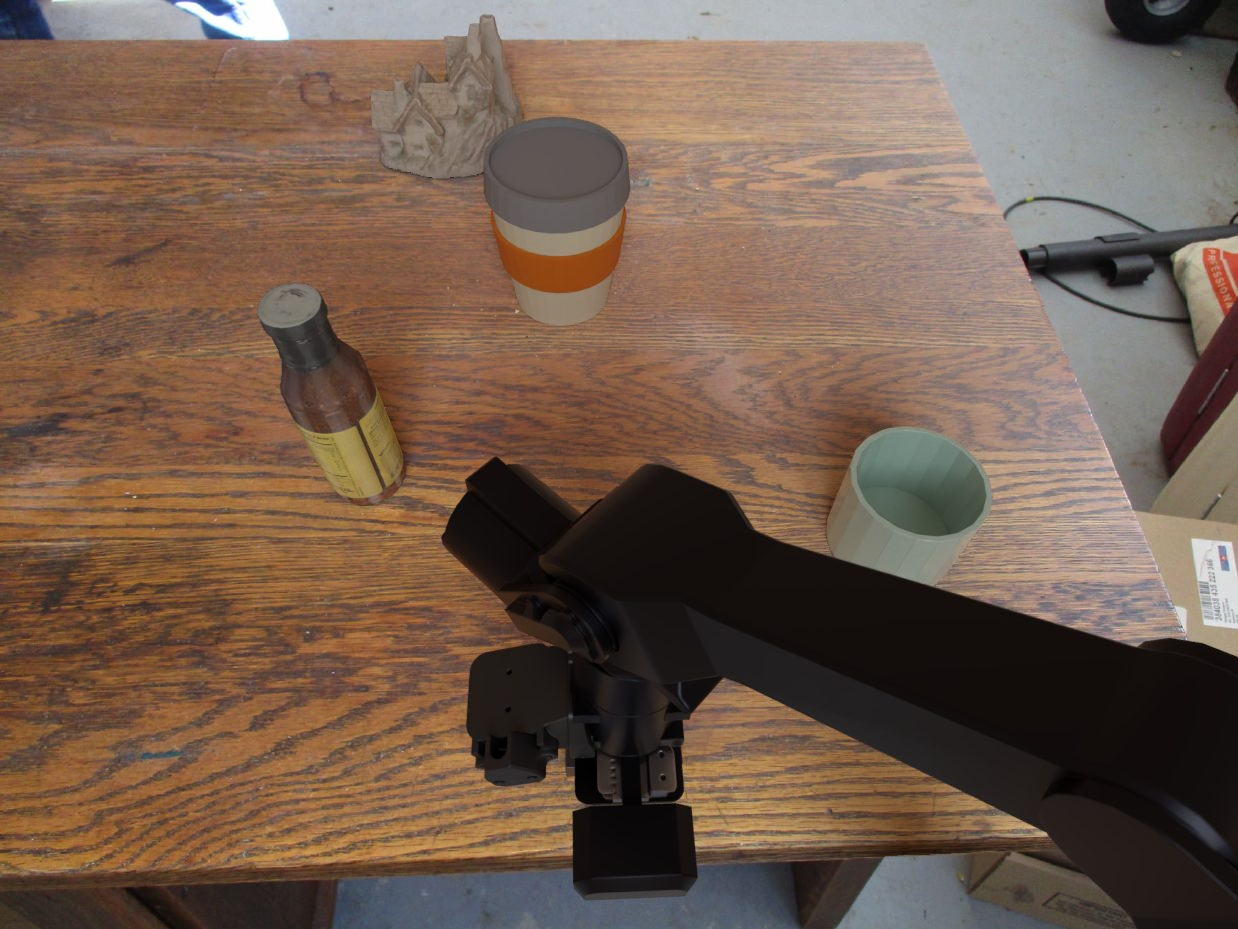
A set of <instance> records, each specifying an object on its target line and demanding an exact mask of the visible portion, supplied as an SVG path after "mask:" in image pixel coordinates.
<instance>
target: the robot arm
mask: <svg viewBox="0 0 1238 929" xmlns="http://www.w3.org/2000/svg"><path fill="white" fill-rule="evenodd" d="M464 483H465V488H466V492H465V493H464V494H463V496H462V498H461V499H460V500H459V502H458V503H457V504H456V506H454V509H453V511H452V513H451V514H450V516H449V518H448V521H447V523H446V526H445V529H444V532H442V535H441V537H440V538H441V544H442V545H443V547H444V548H445V550H446V551H447V552H448V553H450V554H451V556H453V558H455V559H456V560H457V561H458V562H459V563H460V564H461V565H462V566H463V567H465V568H466V569H467V570H468V571H469V572H470V573H471V574H472V575H473V576H474V577H475V578H476V579H478V581H479V582H481V583H482V584H483V585H484V586H485V587H486V588H487V589H489V590H490V592H492V593H493V594H494V595H495V596H496V597H497V598H498V599H499V600H500V601H501V602H502V603H503V604H504V605H505V606H506V607H505V608H504V612H505V613H506V614H507V616H508V617H509V619H510V620H511V622H512V623H513V624H514V626H515V627H516V629H517V630H518V631H519V632H521V633H523V634H526V635H528V636H531V637H532V638H535V639H537V640H540V641H542V642H545V643H547V644H548V645H546V644H544V643H541V642H534V643H533V642H532V643H528V644H522V645H517V646H511V647H505V648H501V649H494V650H489V651H485V652H482V653H481V654H479V655H477V657H476V658H474V660H473V661H472V662H471V665H470V668H469V673H468V674H469V675H468V688H467V689H468V690H467V704H466V718H465V720H466V721H465V729H466V733H467V734H468V737H470V738H471V749H470V756H472V757H474V758H475V759H474V760H475V762H474V768H476V769H478V770H484V771H483V773H484V774H483V778H484V780H486V781H487V782H488V783H490V784H491V785H494V786H496V787H505V788H506V787H513V786H520V785H528V784H535V783H536V784H537V783H541V782H543V781H544V780H545V779H546V778H547V766H548V764H549V762H550V761H552V760H557V759H559V750H565V749H569V748H570V758H571V759H572V758H575V777H574V796H575V798H576V799H577V801H578V802H579V803H581V804H583V805H587V806H585V807H582V808H579V809H575V810H572V811H571V812H572V813H571V814H572V815H571V816H572V821H571V822H572V823H571V824H572V885H573V889H574V891H575V893H577V894H578V895H579V896H580V897H581V898H582V899H583V900H584V901H585V902H586V901H587V902H589V901H608V900H609V901H611V900H612V901H613V900H630V899H631V900H632V899H633V900H634V899H635V900H636V899H654V898H655V899H656V898H658V899H659V898H675V897H676V898H678V897H686V895H687V894H688V893H689V892H690V891H691V889H692V888H693V886H694V885H696V884H695V883H696V882H697V880H698V878H699V876H698V875H699V873H698V862H697V852H696V841H695V828H694V818H693V816H694V815H693V807H692V806H691V805H687V804H682V803H677V802H678V801H679V800H680V799H681V798H682V797H683V795H684V792H685V782H684V771H683V770H684V769H683V764H682V759H683V755H682V756H681V747H682V746H683V745H684V742H685V732H684V721H690V719H691V716H692V714H693V713H694V712H695V711H696V710H697V709H698V707H699V706H700V705H701V704H702V703H703V702H704V701H705V699H706V698H707V697H708V696H709V695H710V694H711V693H712V692H713V691H714V689H716V688H717V686H718V685H719V684H720V683H721V682H722V681H723V679H727V680H729V681H732V682H735V683H738V684H740V685H742V686H745V687H747V688H749V689H751V690H753V691H755V692H758V693H759V694H761V695H763V696H765V697H767V698H769V699H771V700H773V701H775V702H777V703H779V704H781V705H783V706H786V707H787V708H790V709H792V710H794V711H796V712H798V713H800V714H802V715H804V716H806V717H808V718H811V719H812V720H815V721H817V722H818V723H821V724H823V725H825V726H827V727H829V728H831V729H833V730H834V731H836V732H839V733H841V734H842V735H846V736H847V737H850V738H851V739H854V740H855V741H857V742H859V743H861V744H863V745H866V746H868V747H870V748H872V749H873V750H876V751H877V752H880V753H882V754H884V755H886V756H888V757H890V758H893V759H894V760H896V761H898V762H901V763H902V764H905V765H907V766H909V767H911V768H913V769H915V770H916V771H919V772H921V773H922V774H925V775H927V776H929V777H931V778H934V779H935V780H938V781H939V782H941V783H944V784H945V785H947V786H950V787H952V788H954V789H956V790H958V791H960V792H962V793H964V794H966V795H968V796H969V797H972V798H974V799H976V800H979V801H980V802H983V803H985V804H987V805H989V806H991V807H993V808H994V809H996V810H999V811H1001V812H1003V813H1005V814H1007V815H1009V816H1011V817H1013V818H1015V819H1016V820H1017V819H1018V820H1019V821H1021V822H1023V823H1025V824H1028V825H1030V826H1032V827H1034V828H1035V829H1038V830H1040V831H1041V832H1044V833H1046V834H1047V836H1048V837H1049V838H1050V840H1051V841H1052V842H1053V843H1054V844H1055V845H1056V846H1057V848H1058V849H1059V850H1060V851H1061V852H1062V853H1063V854H1064V855H1065V856H1066V858H1067V859H1068V860H1069V861H1071V862H1072V863H1073V864H1074V866H1076V868H1078V869H1079V870H1080V871H1081V872H1082V873H1083V874H1084V875H1085V876H1086V877H1088V879H1090V880H1091V881H1092V882H1093V883H1094V884H1095V885H1096V886H1097V887H1098V888H1099V889H1100V890H1101V891H1102V892H1104V893H1105V895H1106V896H1108V898H1110V899H1111V900H1112V901H1113V902H1114V903H1115V904H1116V905H1118V906H1119V907H1120V908H1121V909H1122V910H1123V911H1124V912H1125V913H1126V914H1127V915H1128V916H1129V918H1130V919H1131V921H1132V923H1133V925H1134V927H1135V929H1238V656H1237V655H1235V654H1232V653H1230V652H1227V651H1224V650H1222V649H1219V648H1217V647H1214V646H1212V645H1209V644H1206V643H1204V642H1199V641H1192V640H1186V639H1180V638H1175V637H1165V638H1157V639H1150V640H1144V641H1143V642H1141V643H1140V644H1138V645H1137V646H1136V645H1133V644H1129V643H1125V642H1121V641H1119V640H1115V639H1113V638H1108V637H1105V636H1101V635H1098V634H1095V633H1093V632H1092V633H1091V632H1088V631H1085V630H1081V629H1078V628H1074V627H1072V626H1067V625H1066V624H1062V623H1058V622H1054V621H1051V620H1048V619H1044V618H1040V617H1037V616H1034V615H1031V614H1027V613H1024V612H1020V611H1017V610H1014V609H1011V608H1007V607H1004V606H1000V605H997V604H994V603H991V602H987V601H983V600H980V599H977V598H974V597H970V596H967V595H962V594H960V593H957V592H953V591H951V590H946V589H944V588H940V587H936V586H930V585H926V584H923V583H920V582H916V581H913V580H910V579H906V578H903V577H899V576H896V575H893V574H889V573H886V572H883V571H879V570H876V569H873V568H869V567H866V566H862V565H859V564H856V563H852V562H849V561H846V560H842V559H839V558H835V557H834V556H833V555H828V554H825V553H822V552H818V551H815V550H812V549H808V548H804V547H801V546H798V545H795V544H791V543H788V542H785V541H782V540H779V539H777V538H775V537H773V536H771V535H768V534H766V533H764V532H761V531H759V530H757V529H755V527H754V526H753V524H752V522H751V521H750V519H749V518H748V516H747V515H746V513H745V512H744V510H743V509H742V507H741V505H740V503H739V502H738V500H737V499H736V497H735V496H734V494H733V493H732V492H731V491H730V490H727V489H725V488H723V487H722V486H721V487H720V486H718V485H716V484H713V483H711V482H709V481H706V480H703V479H700V478H698V477H696V476H693V475H691V474H688V473H686V472H684V471H681V470H679V469H676V468H674V467H671V466H668V465H665V464H658V463H657V464H654V463H646V464H643V465H641V466H639V467H638V468H637V469H636V470H635V471H634V472H632V473H631V474H630V475H628V477H626V479H624V480H623V481H622V482H621V483H620V484H618V485H616V486H615V487H614V488H613V489H612V490H610V492H608V493H607V494H606V495H605V496H604V497H603V498H599V499H597V500H596V501H595V502H594V503H592V504H591V505H590V506H589V507H588V508H587V509H586V510H585V511H584V512H580V511H579V510H578V509H577V508H576V507H574V506H573V505H572V504H571V503H569V502H568V501H566V499H564V498H563V497H562V496H560V494H559V493H557V492H556V491H554V490H553V489H552V488H551V487H550V486H549V485H547V484H546V483H545V482H543V481H542V480H541V479H540V478H539V477H538V476H536V475H535V474H534V473H532V472H531V471H530V470H529V469H527V468H526V467H525V466H524V465H522V464H519V463H507V464H506V463H505V462H504V461H503V460H501V459H500V458H499V457H498V456H493V457H492V458H491V459H489V460H488V461H487V462H485V463H484V464H482V465H481V466H480V467H479V468H477V470H475V471H474V472H472V473H471V474H470V475H469V476H467V477H466V478H465V479H464ZM676 745H681V747H671V746H676ZM595 748H597V750H595Z"/></svg>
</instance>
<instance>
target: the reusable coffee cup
mask: <svg viewBox="0 0 1238 929" xmlns="http://www.w3.org/2000/svg"><path fill="white" fill-rule="evenodd" d="M628 158H629V156H628V151H627V149H626V146H625V144H624V143H623V141H622V140H621V139H620V138H619V137H618V136H617V135H616V134H615V133H613V132H612V131H611V130H610V129H608V128H606V127H604V126H602V125H600V124H598V123H595V122H592V121H589V120H587V119H586V120H585V119H581V118H577V117H570V116H569V117H567V116H546V117H537V118H532V119H529V120H523V122H521V123H518V124H516V125H513V126H511V127H509V128H507V129H506V130H504V131H502V132H501V133H499V134H498V135H497V136H496V137H495V138H494V139H493V140H492V141H491V142H490V144H489V145H488V146H487V148H486V151H485V154H484V163H483V169H484V173H483V194H484V199H485V201H486V203H487V206H489V208H490V209H491V210H490V224H491V228H492V231H493V235H494V238H495V241H496V242H495V243H496V245H497V249H498V253H499V255H500V259H501V260H500V261H501V262H502V266H503V267H504V269H505V271H506V273H507V274H508V275H509V276H510V279H511V282H512V285H513V289H514V292H515V296H516V300H517V303H518V305H519V307H520V309H521V311H523V312H524V314H526V315H527V316H528V317H529V318H531V319H532V320H535V321H537V322H538V323H541V324H544V325H545V324H546V325H549V326H555V327H567V326H573V325H579V324H582V323H585V322H587V321H590V320H591V319H593V318H594V317H596V316H598V314H600V312H601V311H602V310H603V309H604V308H605V306H606V305H607V302H608V298H609V293H610V287H611V281H612V276H613V273H614V271H615V269H616V267H617V266H618V264H619V260H620V255H621V251H622V245H623V239H624V235H625V234H624V233H625V228H626V222H627V208H626V204H627V202H628V200H629V199H630V193H631V179H630V167H629V159H628Z"/></svg>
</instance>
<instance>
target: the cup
mask: <svg viewBox="0 0 1238 929" xmlns="http://www.w3.org/2000/svg"><path fill="white" fill-rule="evenodd" d="M985 470H986V469H984V467H983V465H982V463H981V462H980V460H979V459H977V457H975V455H974V454H973V453H972V452H971V451H970V450H969V449H968V448H966V447H965V446H964V445H963V444H961V443H959V442H958V441H956V440H954V439H953V438H951V437H950V436H948V435H946V434H944V433H942V432H941V433H940V432H939V431H935V430H931V429H929V428H927V427H919V426H910V425H909V426H908V425H900V426H895V427H887V428H884V429H881V430H879V431H877V432H875V433H873V434H871V435H869V436H867V437H866V438H865V439H864V440H863V441H862V442H861V443H860V445H858V447H857V448H855V451H854V453H853V455H852V457H851V460H850V462H849V465H848V467H847V469H846V472H845V474H844V477H843V479H842V482H841V483H840V486H839V488H838V491H837V493H836V496H835V498H834V500H833V503H832V505H831V508H830V511H829V513H828V516H827V519H826V528H825V532H826V539H827V544H828V546H829V549H830V551H831V553H832V556H833V557H835V558H839V559H842V560H846V561H849V562H852V563H856V564H859V565H862V566H866V567H869V568H873V569H876V570H879V571H883V572H886V573H889V574H893V575H896V576H899V577H903V578H906V579H910V580H913V581H916V582H920V583H923V584H926V585H930V586H933V587H935V586H936V585H937V584H939V583H940V582H941V581H942V580H943V579H944V578H945V576H946V575H947V573H948V572H950V570H951V568H953V566H954V565H955V563H956V561H957V560H958V559H959V557H960V556H961V555H962V553H963V552H964V550H965V549H966V547H967V546H968V545H969V543H970V542H971V541H972V539H973V538H974V536H975V535H976V534H977V532H978V531H979V530H980V528H981V527H982V525H983V524H984V523H985V521H987V518H988V517H989V515H990V512H991V507H992V503H993V497H994V496H993V490H992V486H991V480H990V477H989V476H988V473H987V472H986V471H985Z"/></svg>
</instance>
